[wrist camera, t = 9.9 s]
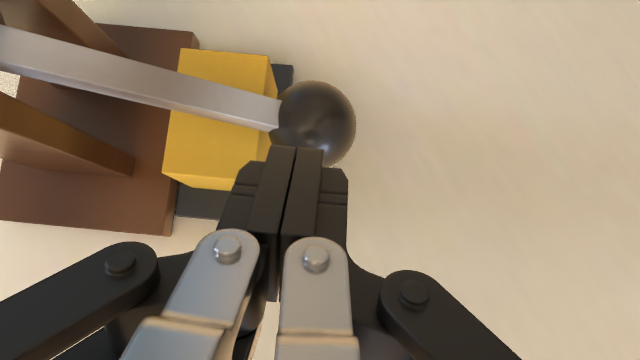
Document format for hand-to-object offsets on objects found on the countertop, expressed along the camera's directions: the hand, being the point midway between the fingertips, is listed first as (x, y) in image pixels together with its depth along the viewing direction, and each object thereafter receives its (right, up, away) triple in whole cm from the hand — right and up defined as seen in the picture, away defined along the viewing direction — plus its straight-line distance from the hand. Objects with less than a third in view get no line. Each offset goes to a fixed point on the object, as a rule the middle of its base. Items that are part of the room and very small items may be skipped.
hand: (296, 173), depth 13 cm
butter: (-3, +2, +9) cm, 10 cm away
